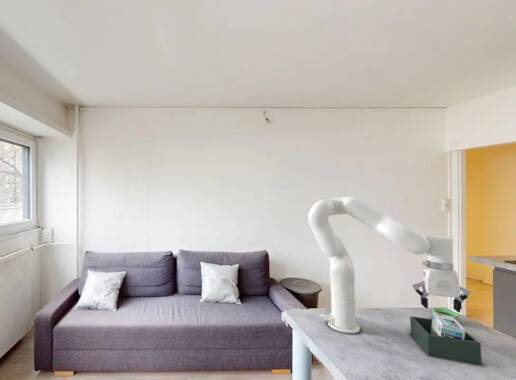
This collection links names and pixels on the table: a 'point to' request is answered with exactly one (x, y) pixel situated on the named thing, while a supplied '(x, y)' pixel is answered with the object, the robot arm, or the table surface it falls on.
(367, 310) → the table surface
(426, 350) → the open storage box
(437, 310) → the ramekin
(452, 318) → the light bulb box
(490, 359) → the table surface
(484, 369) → the table surface
